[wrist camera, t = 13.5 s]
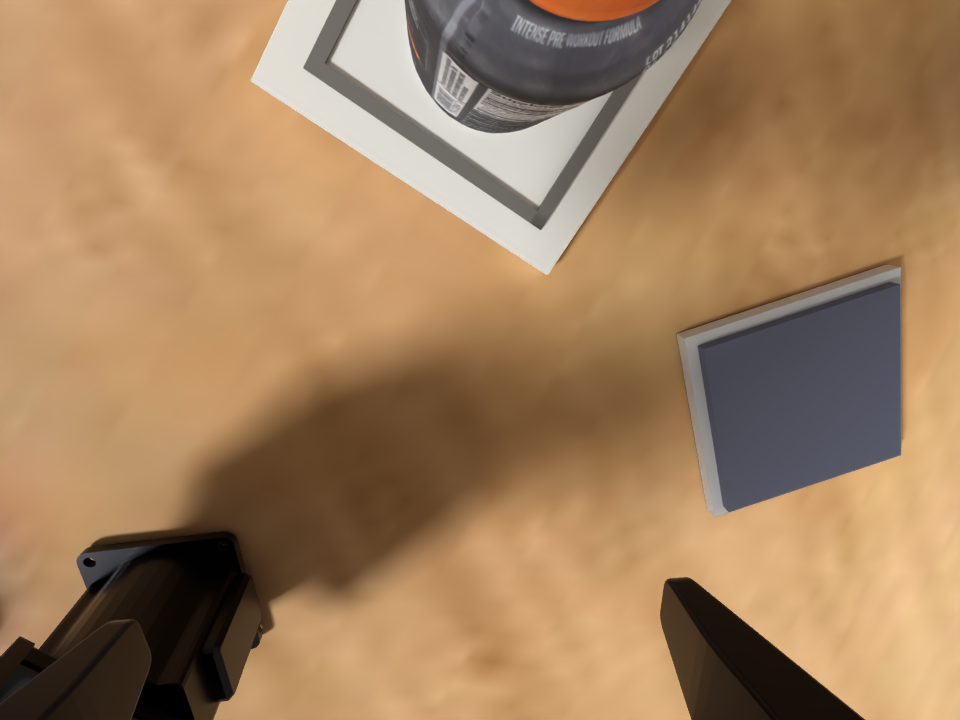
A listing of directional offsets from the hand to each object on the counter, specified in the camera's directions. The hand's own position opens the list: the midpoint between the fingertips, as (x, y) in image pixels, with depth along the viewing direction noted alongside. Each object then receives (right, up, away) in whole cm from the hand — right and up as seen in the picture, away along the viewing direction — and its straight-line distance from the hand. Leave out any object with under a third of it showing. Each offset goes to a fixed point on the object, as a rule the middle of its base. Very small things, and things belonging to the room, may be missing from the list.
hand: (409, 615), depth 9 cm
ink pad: (+16, +3, +15) cm, 22 cm away
